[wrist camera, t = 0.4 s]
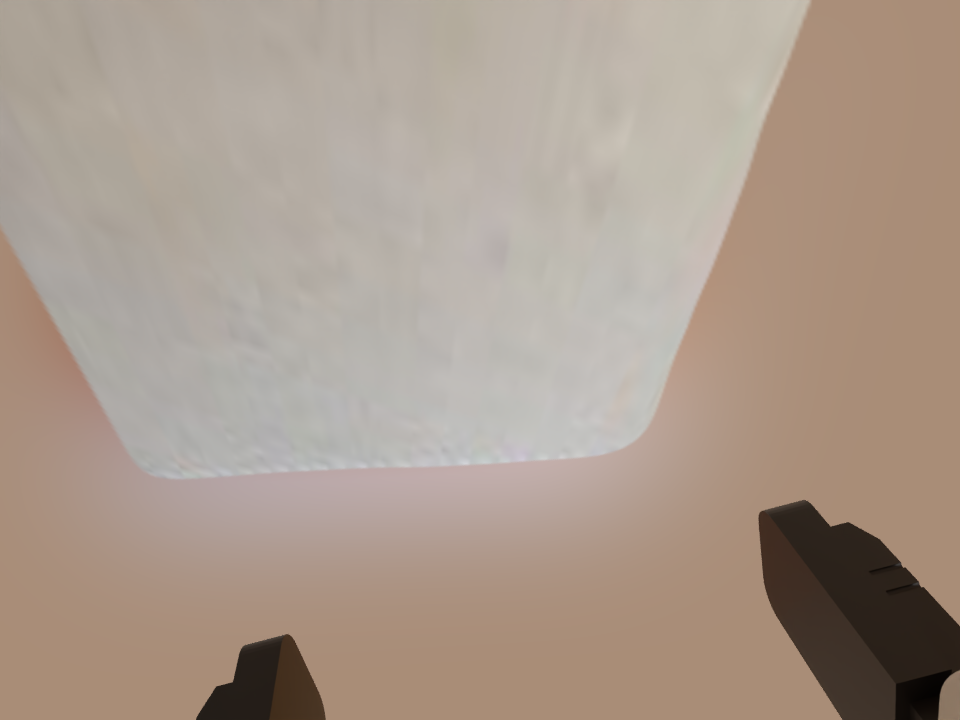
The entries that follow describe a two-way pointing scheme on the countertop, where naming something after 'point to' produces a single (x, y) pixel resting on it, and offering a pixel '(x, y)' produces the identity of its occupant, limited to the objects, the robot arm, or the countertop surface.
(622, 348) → the countertop surface
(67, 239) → the countertop surface
